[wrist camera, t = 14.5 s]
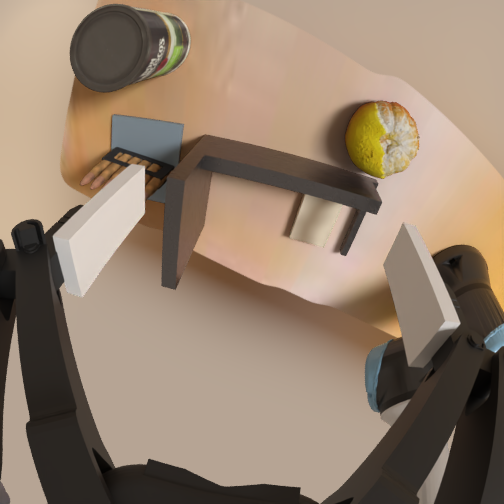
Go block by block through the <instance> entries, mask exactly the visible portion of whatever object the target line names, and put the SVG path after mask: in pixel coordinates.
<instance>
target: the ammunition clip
mask: <svg viewBox="0 0 504 504" xmlns="http://www.w3.org/2000/svg"><path fill="white" fill-rule="evenodd" d="M131 164H136V165H142V166H145V201H146V200H147V199H148V198H149V197H150V196H152V195H153V194H154V193H155V192H156V191H157V190H158V189H160V188H161V187H162V186H163V185H164V184H165V183H166V182H167V177H168V175H169V174H170V173H171V172H172V171H173V170H174V166H173V165H170V164H167V163H164V162H161V161H158V160H156V159H153V158H150V157H147V156H144V155H141V154H138V153H135V152H132V151H129V150H126V149H123V148H120V147H115V148H114V149H113V150H112V151H110V152H109V153H108V154H107V155H106V156H104V157H103V158H102V161H101V162H100V163H98V164H97V165H96V166H94V167H93V169H92V170H91V171H90V172H89V173H88V174H87V175H86V176H85V177H84V178H83V179H82V181H81V183H80V185H85V184H87V183H89V182H91V181H92V180H93V179H95V178H96V177H97V178H96V179H95V180H94V182H93V183H92V185H91V187H90V189H95V188H97V187H99V186H100V185H102V184H103V183H104V182H106V181H107V180H108V181H107V182H106V183H105V185H104V186H103V188H104V187H105V186H106V185H107V184H108V183H109V182H111V181H112V180H113V179H114V178H115V177H116V176H118V175H119V174H120V173H121V172H122V171H124V170H125V169H126V168H127V167H128V166H130V165H131ZM103 188H102V189H103Z"/></svg>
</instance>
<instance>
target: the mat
mask: <svg viewBox="0 0 504 504" xmlns="http://www.w3.org/2000/svg"><path fill="white" fill-rule="evenodd" d="M183 128H184V124H180V123H174V122H167V121H161V120H154V119H147V118H140V117H132V116H124V115H116V114H114V115H113V117H112V143H111V151H112V150H113V149H114V148H115V147H120V148H123V149H126V150H129V151H132V152H135V153H138V154H141V155H144V156H147V157H150V158H153V159H156V160H158V161H161V162H164V163H167V164H170V165H173V166H174V169H175V167H176V166H177V165H178V164H179V160H180V151H181V143H182V135H183ZM166 183H167V182H166ZM166 183H165V184H164V185H163V186H162V187H161V188H160V189H158V190H157V191H156V192H155V193H154V194H153V195H152V196H150V197H149V198H148V200H152V201H157V202H161V203H165V196H166Z"/></svg>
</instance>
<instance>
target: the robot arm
mask: <svg viewBox="0 0 504 504" xmlns="http://www.w3.org/2000/svg"><path fill="white" fill-rule="evenodd" d="M144 214H145V166H142V165H136V164H131V165H130V166H128V167H127V168H126V169H125V170H124V171H122V172H121V173H120V174H119V175H118V176H116V177H115V178H114V179H113V180H112V181H111V182H109V183H108V184H107V185H106V186H105V187H104V188H103V189H101V190H100V191H99V192H98V193H97V194H96V195H95V196H94V197H93V198H91V199H90V200H89V201H88V202H87V203H86V204H85V205H78V206H76V207H74V208H72V209H70V210H69V211H68V212H67V213H66V214H65V215H64V216H63V217H62V218H61V219H60V220H59V221H58V223H57V222H56V223H55V224H54V225H53V226H52V227H51V228H50V229H49V230H48V231H47V232H46V233H45V234H44V230H43V225H42V223H41V222H40V221H38V220H34V219H31V220H26V221H23V222H21V223H19V224H17V225H16V226H15V227H14V228H13V229H12V232H11V235H12V239H13V242H14V245H15V249H5V247H4V244H3V242H2V240H1V239H0V480H1V471H2V451H3V448H2V436H3V430H2V429H3V408H4V393H5V382H6V374H7V365H8V358H9V351H10V344H11V339H12V334H13V328H14V323H15V318H16V317H17V333H18V344H19V353H20V362H21V369H22V376H23V383H24V389H25V395H26V399H27V405H28V410H29V415H30V421H29V422H27V424H26V432H27V438H28V442H29V446H30V449H31V453H32V457H33V460H34V463H35V467H36V470H37V473H38V476H39V479H40V482H41V485H42V488H43V491H44V494H45V496H46V499H47V502H48V504H319V503H317V502H316V501H314V500H312V499H310V498H308V497H306V496H304V495H301V494H300V487H288V486H287V487H286V486H278V485H269V484H258V485H247V486H232V487H231V486H230V487H224V486H220V485H218V484H215V483H213V482H211V481H209V480H206V479H204V478H202V477H200V476H198V475H196V474H194V473H192V472H190V471H188V470H186V469H183V468H179V467H175V466H172V465H168V464H165V463H161V462H158V461H154V460H151V459H148V462H147V465H143V464H137V465H126V466H121V467H118V468H115V466H114V464H113V462H112V460H111V458H110V456H109V454H108V452H107V450H106V449H105V447H104V445H103V442H102V440H101V438H100V435H99V432H98V430H97V428H96V425H95V422H94V419H93V416H92V413H91V410H90V408H89V404H88V402H87V398H86V395H85V392H84V389H83V386H82V383H81V379H80V376H79V372H78V369H77V365H76V361H75V357H74V353H73V349H72V345H71V341H70V337H69V333H68V328H67V323H66V318H65V313H64V308H63V303H62V297H61V293H60V290H59V288H60V287H61V285H62V284H63V283H65V287H66V290H67V293H70V294H73V295H76V296H79V297H83V296H84V294H85V293H86V291H87V290H88V289H89V287H90V286H91V284H92V283H93V281H94V280H95V279H96V277H97V276H98V274H99V273H100V271H101V270H102V269H103V267H104V266H105V265H106V263H107V262H108V260H109V259H110V258H111V256H112V255H113V254H114V252H115V251H116V250H117V248H118V247H119V246H120V244H121V243H122V242H123V240H124V239H125V238H126V237H127V235H128V234H129V233H130V231H131V230H132V229H133V227H134V226H135V225H136V224H137V223H138V221H139V220H140V219H141V218H142V216H143V215H144ZM383 265H384V269H385V272H386V276H387V279H388V283H389V286H390V290H391V294H392V297H393V301H394V305H395V309H396V313H397V317H398V321H399V325H400V329H401V334H402V337H400V338H397V339H392V340H389V341H388V342H387V343H384V344H382V345H379V346H377V347H375V348H373V349H372V350H371V351H370V353H369V354H368V356H367V359H366V364H365V386H366V392H367V393H368V402H369V405H370V407H371V409H372V410H373V411H375V412H380V415H381V419H382V420H383V421H385V422H386V423H388V424H389V425H390V426H391V428H390V429H389V431H388V432H387V433H386V435H385V436H384V437H383V439H382V440H381V441H380V442H379V444H378V445H377V446H376V448H375V449H374V450H373V451H372V452H371V454H370V455H369V456H368V457H367V458H366V460H365V461H364V462H363V463H362V464H361V465H360V467H359V468H358V469H357V470H356V471H355V472H354V473H353V474H352V476H351V477H350V478H349V479H348V480H347V481H346V482H345V483H344V484H343V485H342V486H341V487H340V488H339V489H338V490H337V491H336V492H335V493H333V494H332V495H331V496H329V497H328V498H327V499H326V500H324V501H323V502H322V503H321V504H504V312H503V310H502V308H501V306H500V304H499V302H498V300H497V298H496V296H495V295H494V293H493V291H492V289H491V286H490V279H489V274H488V267H487V263H486V261H485V259H484V258H483V256H482V254H481V253H480V252H479V251H478V250H477V249H476V248H474V247H472V246H468V245H458V246H453V247H450V248H448V249H446V250H444V251H442V252H440V253H439V254H437V255H436V256H435V257H434V258H433V259H432V257H431V255H430V253H429V251H428V249H427V247H426V245H425V243H424V241H423V239H422V237H421V235H420V233H419V231H418V229H417V227H416V226H414V225H411V224H407V223H404V222H403V224H402V226H401V228H400V231H399V233H398V235H397V237H396V239H395V241H394V244H393V246H392V248H391V250H390V252H389V254H388V256H387V258H386V260H385V262H384V264H383ZM455 426H456V429H455V434H454V438H453V442H452V446H451V450H450V453H449V451H448V444H447V442H448V440H449V438H450V436H451V434H452V431H453V430H454V428H455ZM0 504H10V498H9V496H8V494H7V492H6V491H5V488H4V486H3V484H2V483H1V482H0Z"/></svg>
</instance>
